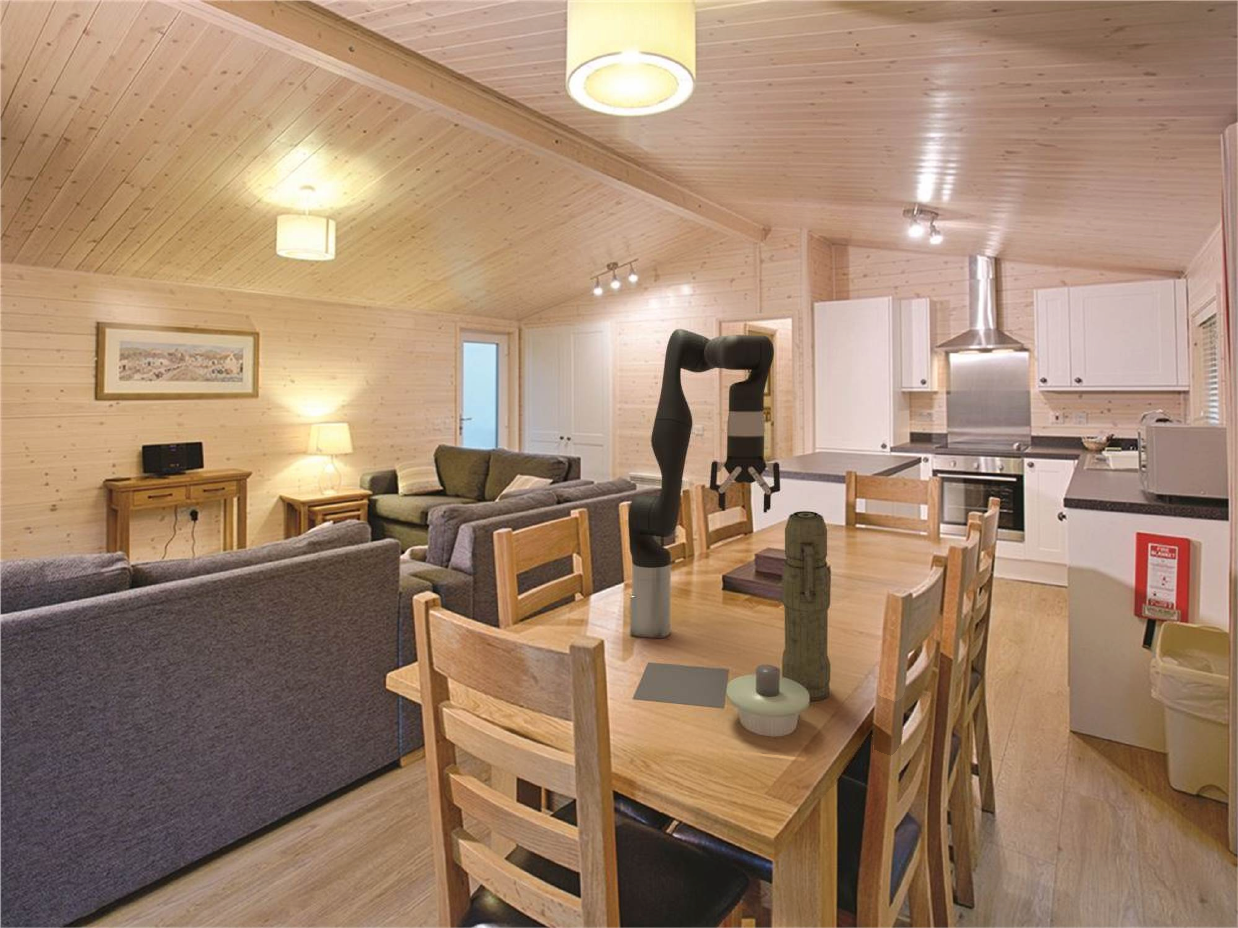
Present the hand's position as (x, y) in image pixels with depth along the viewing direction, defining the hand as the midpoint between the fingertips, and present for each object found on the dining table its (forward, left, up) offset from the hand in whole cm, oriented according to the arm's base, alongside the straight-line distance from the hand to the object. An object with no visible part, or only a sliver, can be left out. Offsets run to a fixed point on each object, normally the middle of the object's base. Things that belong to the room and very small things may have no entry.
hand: (744, 511), depth 135 cm
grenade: (+13, -10, -33) cm, 37 cm away
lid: (+5, -25, -28) cm, 38 cm away
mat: (-11, -13, -33) cm, 37 cm away
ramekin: (+5, -25, -33) cm, 42 cm away
